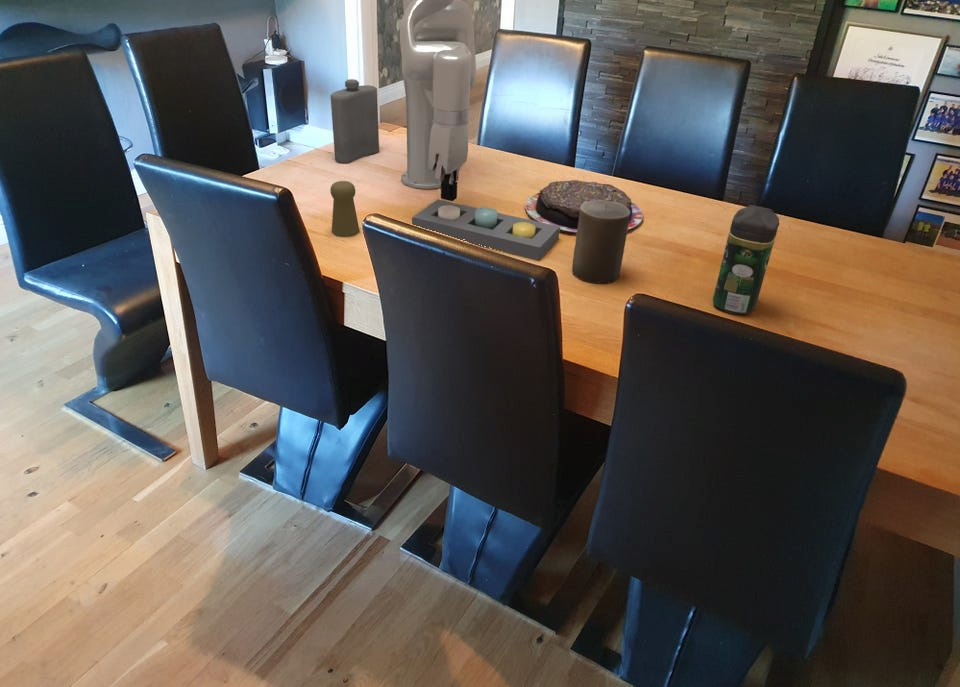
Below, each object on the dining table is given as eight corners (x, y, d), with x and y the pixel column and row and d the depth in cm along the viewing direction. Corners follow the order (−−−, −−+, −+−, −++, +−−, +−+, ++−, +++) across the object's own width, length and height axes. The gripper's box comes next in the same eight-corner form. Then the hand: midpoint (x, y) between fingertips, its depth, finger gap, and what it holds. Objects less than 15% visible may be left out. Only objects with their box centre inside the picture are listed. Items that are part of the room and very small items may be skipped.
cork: (354, 238, 152) (351, 189, 146) (327, 235, 153) (323, 186, 147) (363, 227, 157) (361, 179, 151) (337, 224, 158) (334, 176, 152)
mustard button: (517, 234, 156) (518, 220, 154) (537, 239, 154) (538, 225, 152) (508, 243, 152) (509, 228, 150) (529, 248, 151) (530, 233, 149)
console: (437, 211, 166) (438, 199, 165) (558, 239, 156) (560, 226, 154) (412, 229, 157) (411, 217, 155) (538, 260, 147) (539, 247, 145)
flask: (367, 147, 203) (364, 74, 192) (382, 151, 200) (380, 77, 189) (329, 160, 192) (323, 83, 181) (344, 165, 190) (339, 87, 179)
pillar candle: (608, 289, 138) (620, 216, 130) (562, 274, 142) (572, 203, 134) (627, 270, 145) (640, 201, 137) (583, 257, 149) (593, 189, 141)
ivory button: (444, 217, 162) (444, 203, 160) (463, 222, 160) (463, 208, 158) (434, 225, 158) (434, 211, 156) (453, 229, 157) (453, 215, 155)
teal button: (480, 220, 158) (481, 205, 156) (500, 224, 156) (500, 210, 155) (470, 227, 154) (471, 213, 153) (490, 232, 153) (491, 217, 151)
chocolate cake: (598, 186, 185) (602, 162, 182) (667, 228, 164) (672, 201, 161) (503, 201, 174) (505, 175, 171) (563, 247, 154) (567, 219, 150)
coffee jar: (717, 287, 140) (740, 198, 130) (759, 298, 137) (785, 207, 127) (706, 309, 133) (730, 216, 123) (750, 320, 130) (777, 226, 120)
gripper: (451, 103, 153) (449, 184, 164) (416, 121, 142) (417, 207, 152) (482, 109, 151) (478, 191, 161) (450, 128, 139) (448, 215, 150)
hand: (448, 198), depth 157 cm, fingers closed
